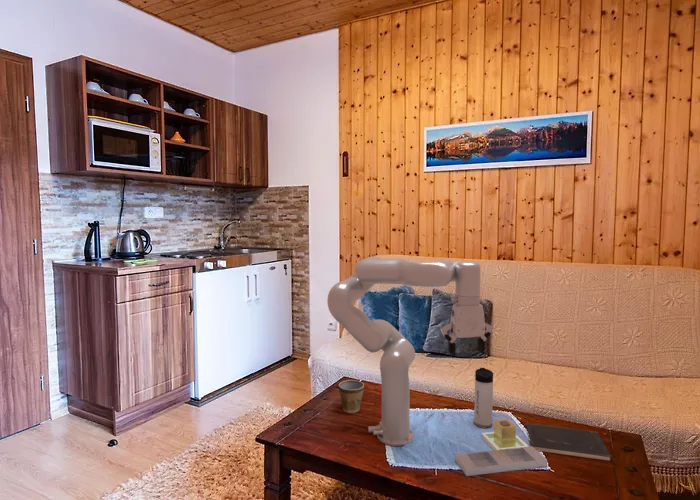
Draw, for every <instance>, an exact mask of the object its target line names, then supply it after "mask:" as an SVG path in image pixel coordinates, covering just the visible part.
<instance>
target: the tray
mask: <svg viewBox="0 0 700 500" xmlns="http://www.w3.org/2000/svg"><path fill="white" fill-rule="evenodd" d="M480 436H481V437H480V438H481V440H483V441H484V442H485V443H486V444H487V445H488V446H489V448H490V449H491V450H501V449H510V448H519V447H528V446H529V445H528V444H527V443H526V442H525V441H524V440H522V438H520V437H519V436H518V435H517V434H516V443H515V447H507V448H500V447H499V446H498V445H497V444H496V443H495V442H494V431H489V432H488V431H487V432H486V431H485V432H481V435H480Z"/></svg>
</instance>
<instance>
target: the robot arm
mask: <svg viewBox="0 0 700 500" xmlns="http://www.w3.org/2000/svg"><path fill="white" fill-rule="evenodd" d="M452 282H455V293H454V296H453V297H451V302H454V303H453V305H452V310H451V314H450V322H449V323H448V324H446V325H444V326H443V327H441V328H440V331H441V334H442V336H443V337H444V338H445V339H446V341H447V342H448V344H447V345H448V348H447V349H448V351H447V352H449V354H451V355H452V356H455V355H456V342H455V341H456V340H457V339H458V338H459V339H460V338H461V339H462V338H463V339H465V338H466V339H467V338H477V347H476V348H477V352H479V353H480V354H485V349H486V341H487V340H488V338H489V337H490V336H491V333H492V331H493V329H494V327H493V325H491V324H489V323H487V322H485V321H486V320H485V312H484V306H483V304H481V264H480V262H478V261H473V260H469V261H468V260H461V261H459V260H458V261H457V260H451V259H446V258H445V259H440V260H438V261H436V262H414V261H413V262H412V261H410V260H409V261H408V260H406V259H404V258H380V257H377V256H369V257H366V258H363V259H360V260H359V261H358V262H357V263H356V265H355V268H354V272H353V273H352V274H351V275H350V276H349V277H348V278H346V279H344V280H341V281H339V282H336V283H335V284H333V286H332V287H330V289H329V292H328V294H327V308H328V311H329V313H330V314H331V316H332V317H333V319H335V320H336V322H337V323H339V324H340V326H342V327H343V328H344V329H345V331H347V332H348V333H349V334H350V335H351V337H353V339H355V341H357V343H359V345H361V347H363V349H365V351H368V352H369V353H378V352H380V351H381V350H382V351H383V353H382V355H381V357H380V361H379V371H380V378H381V379H380V380H381V381H380V382H381V420H380V421H379V423H378V424H376V425H375V426H374V425H371V426H367V430H368V433H373V436H376V437H377V439H378V440H379V442H381V443H383V444H384V445H387V446H394V447H402V446H405V445H408V444H410V443H411V442H413V440H414V438H415V434H414V431H413V430H412V429H410V395H411V393H410V390H411V389H410V376H409V369H410V367H411V365H412V364H413V362H414V360H415V357H416V351H415V347H414V345H413V344H412V343H411V342H410V341H409V340H408V339H407V338H406V337H405V336H404V335H403V334H402V333H401V332H400V331H399V330H398V329H397V328H396V327H395V326H394V325H392V324H391V323H390V322H389V321H386V320H384V319H374V320H373V319H371V318H369V317H368V315H366V313H364V311H362V310H361V309H359V308H357V307H356V306H354V304H353V303H354V302H355V301H357V300H359V299H361V298H362V297H363V296H364V295H365V294H367V292H368V291H369V290H371V289H372V288H373V287H374V286H375V285H376V284H384V285H386V284H387V285H388V284H389V285H390V284H391V285H403V286H410V287H411V286H412V287H421V288H422V287H423V288H424V287H425V288H427V287H429V288H430V287H431V288H433V287H436V288H439V287H440V288H441V287H444V286H448V285H449V284H450V283H452ZM448 331H449V332H450V334H448Z"/></svg>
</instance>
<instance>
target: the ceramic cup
mask: <svg viewBox="0 0 700 500" xmlns="http://www.w3.org/2000/svg"><path fill="white" fill-rule="evenodd" d="M364 389H365V384H364V382H362V381H360V380H357V379H347V380H343V381H341V382H339V383H338V390H339V396H340V400H341V404H342V409H343V412H345V413H347V414H355V413H357V412H359V411H360V409H361V402H362V399H363V393H364Z"/></svg>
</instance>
